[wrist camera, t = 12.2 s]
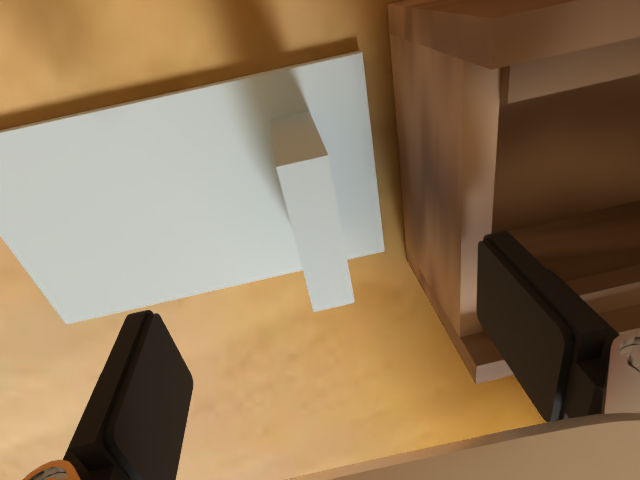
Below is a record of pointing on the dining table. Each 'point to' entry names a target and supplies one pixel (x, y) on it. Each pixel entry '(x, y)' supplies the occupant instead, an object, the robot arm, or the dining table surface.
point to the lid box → (519, 150)
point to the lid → (197, 191)
